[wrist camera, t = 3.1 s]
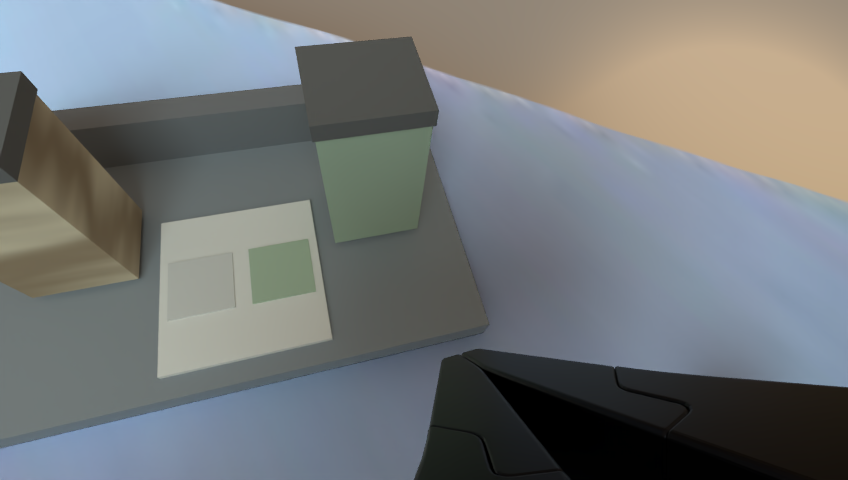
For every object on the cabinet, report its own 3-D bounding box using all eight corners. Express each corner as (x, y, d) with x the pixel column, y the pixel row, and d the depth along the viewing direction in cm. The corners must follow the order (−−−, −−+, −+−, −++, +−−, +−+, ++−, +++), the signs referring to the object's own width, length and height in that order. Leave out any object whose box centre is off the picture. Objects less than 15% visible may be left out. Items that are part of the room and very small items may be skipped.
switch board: (483, 332, 23) (504, 303, 19) (-20, 452, 18) (-130, 447, 14) (414, 125, 29) (420, 71, 25) (34, 175, 25) (-31, 119, 21)
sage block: (419, 229, 23) (438, 110, 16) (333, 245, 22) (308, 126, 15) (402, 169, 25) (411, 36, 18) (322, 181, 24) (295, 47, 17)
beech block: (140, 280, 21) (-3, 165, 13) (29, 300, 20) (-196, 190, 12) (144, 208, 22) (21, 71, 15) (43, 224, 22) (-145, 86, 14)
